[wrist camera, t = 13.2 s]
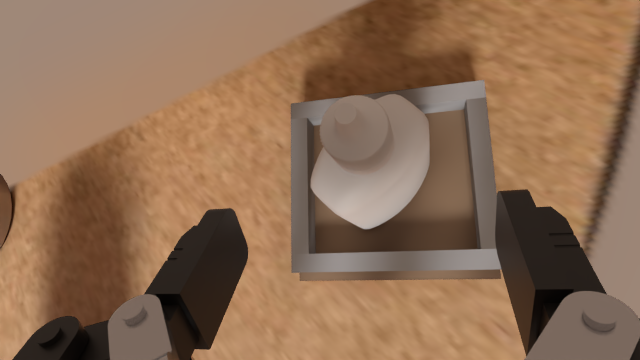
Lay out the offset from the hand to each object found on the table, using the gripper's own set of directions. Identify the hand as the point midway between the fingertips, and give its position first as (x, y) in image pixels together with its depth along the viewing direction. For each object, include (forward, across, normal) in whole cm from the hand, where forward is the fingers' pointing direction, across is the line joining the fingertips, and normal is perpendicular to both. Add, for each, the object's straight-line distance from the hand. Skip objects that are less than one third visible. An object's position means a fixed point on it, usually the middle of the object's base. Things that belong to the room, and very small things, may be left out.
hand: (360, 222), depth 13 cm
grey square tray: (+11, 0, -6) cm, 13 cm away
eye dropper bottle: (+10, 0, -6) cm, 12 cm away
